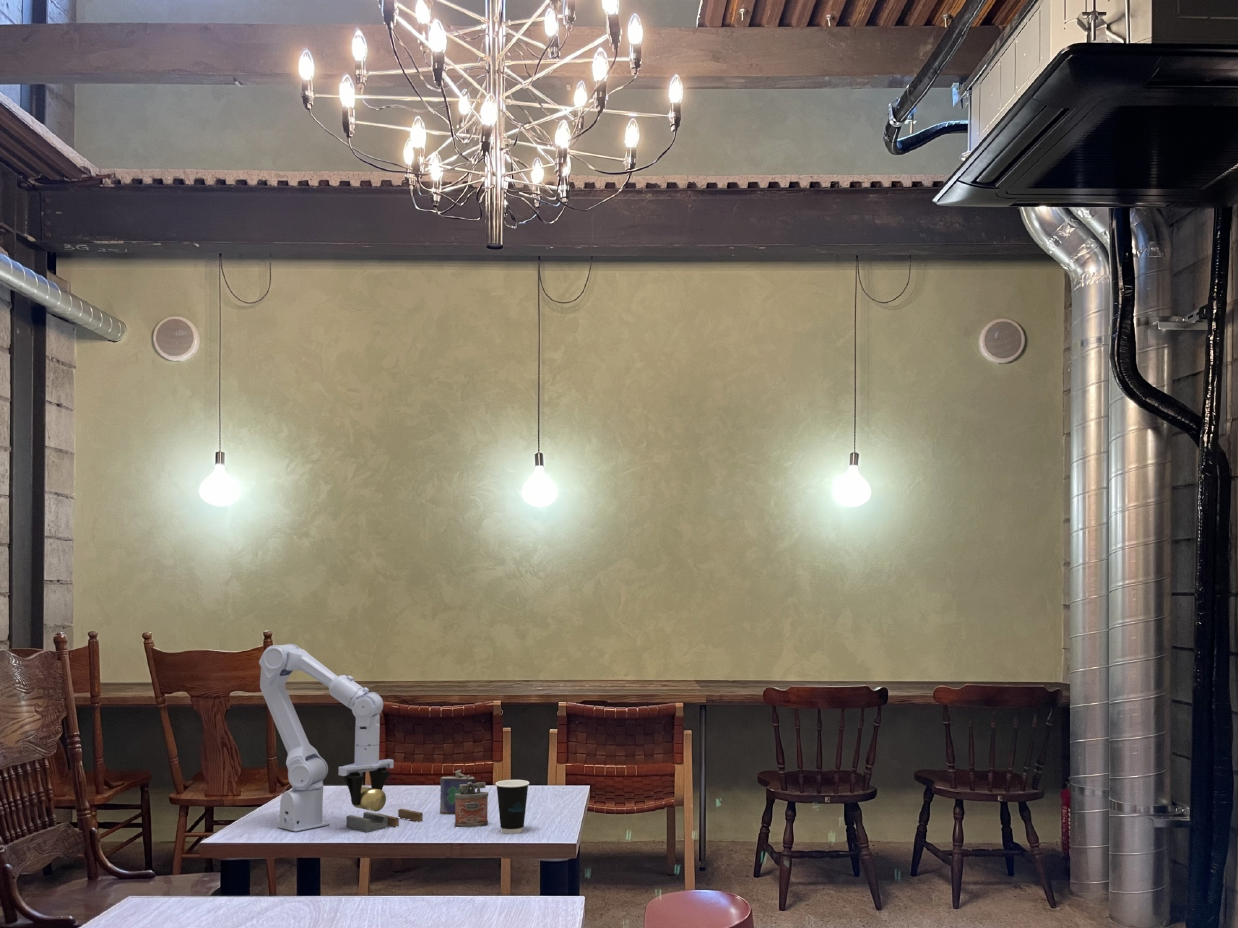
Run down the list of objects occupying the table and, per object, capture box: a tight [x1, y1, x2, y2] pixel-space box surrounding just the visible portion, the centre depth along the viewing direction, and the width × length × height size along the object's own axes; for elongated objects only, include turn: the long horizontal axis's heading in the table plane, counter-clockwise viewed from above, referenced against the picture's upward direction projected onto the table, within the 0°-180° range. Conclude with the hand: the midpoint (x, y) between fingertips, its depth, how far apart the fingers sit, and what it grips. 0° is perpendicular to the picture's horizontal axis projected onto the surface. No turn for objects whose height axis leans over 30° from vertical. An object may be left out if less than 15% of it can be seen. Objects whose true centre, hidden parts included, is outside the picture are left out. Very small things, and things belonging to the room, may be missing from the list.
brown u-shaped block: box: [377, 808, 424, 828], centre depth 245 cm, size 8×8×2 cm
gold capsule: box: [350, 785, 387, 812], centre depth 240 cm, size 7×5×5 cm
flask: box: [439, 769, 476, 815], centre depth 255 cm, size 9×3×11 cm, turn 79°
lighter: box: [454, 781, 489, 828], centre depth 241 cm, size 8×3×10 cm, turn 105°
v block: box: [345, 811, 389, 833], centre depth 239 cm, size 6×8×3 cm
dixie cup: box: [495, 779, 530, 835], centre depth 235 cm, size 8×8×11 cm
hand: (365, 802), depth 240 cm, fingers closed on gold capsule, 5 cm apart
